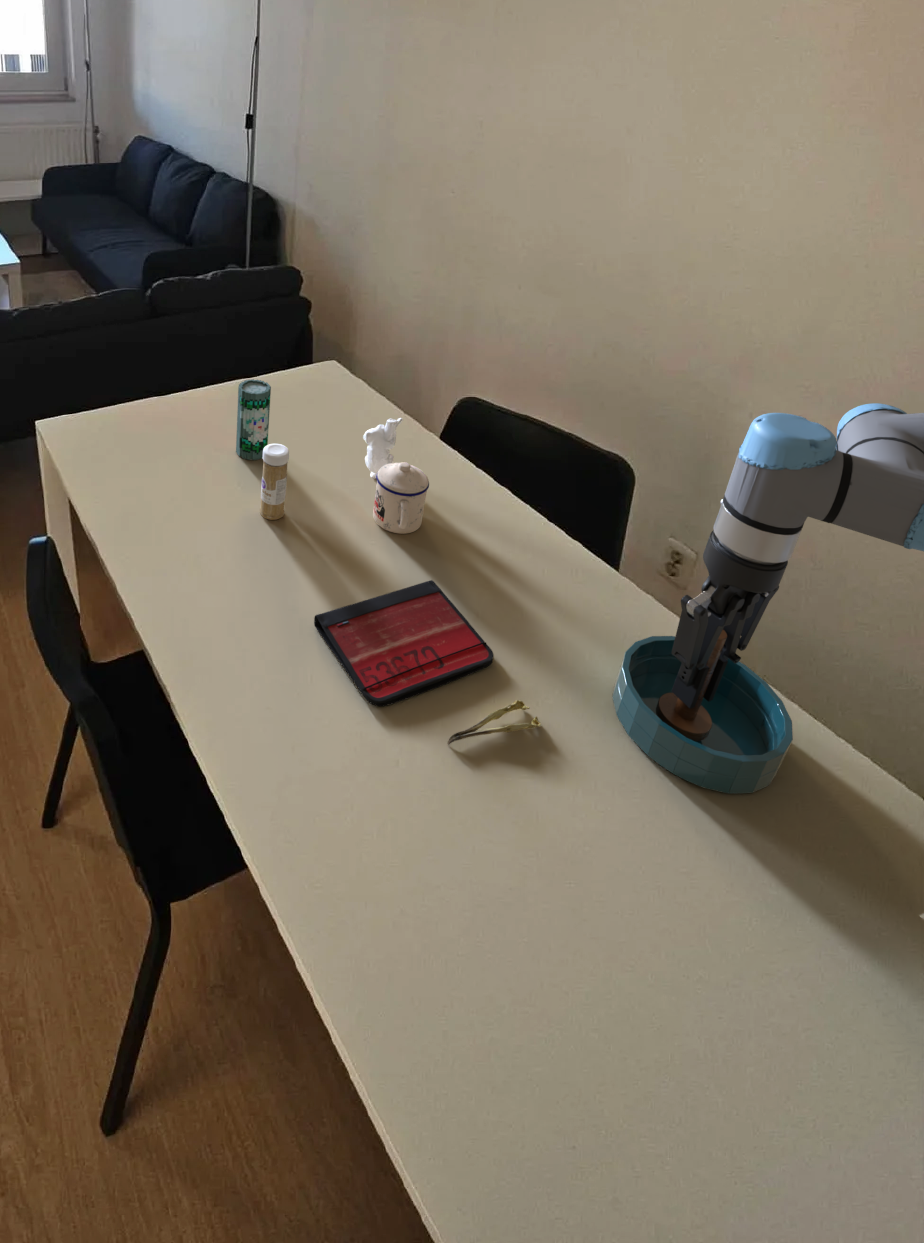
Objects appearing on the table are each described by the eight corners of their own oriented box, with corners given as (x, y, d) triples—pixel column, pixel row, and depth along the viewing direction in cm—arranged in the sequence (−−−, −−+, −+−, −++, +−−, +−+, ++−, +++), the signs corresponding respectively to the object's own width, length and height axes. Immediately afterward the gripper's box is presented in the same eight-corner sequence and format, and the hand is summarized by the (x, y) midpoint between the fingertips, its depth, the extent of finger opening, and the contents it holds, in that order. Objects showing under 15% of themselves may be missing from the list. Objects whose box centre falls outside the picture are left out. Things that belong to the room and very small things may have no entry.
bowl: (811, 767, 91) (829, 733, 89) (703, 818, 85) (718, 783, 82) (681, 653, 107) (692, 622, 105) (581, 689, 101) (591, 656, 98)
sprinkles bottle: (254, 511, 134) (257, 447, 128) (273, 502, 136) (277, 439, 131) (270, 524, 131) (274, 459, 125) (290, 515, 133) (294, 451, 128)
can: (243, 462, 148) (246, 395, 142) (232, 446, 153) (234, 381, 147) (271, 457, 150) (275, 391, 144) (259, 441, 155) (263, 377, 150)
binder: (314, 613, 108) (432, 577, 116) (312, 625, 109) (429, 588, 117) (373, 703, 95) (501, 656, 103) (371, 716, 96) (498, 668, 104)
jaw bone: (441, 736, 93) (444, 725, 92) (519, 706, 98) (523, 695, 98) (463, 765, 90) (466, 753, 89) (543, 732, 95) (546, 721, 94)
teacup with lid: (369, 501, 138) (376, 448, 133) (419, 506, 137) (428, 452, 132) (374, 544, 127) (381, 487, 122) (428, 549, 126) (437, 492, 121)
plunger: (720, 733, 93) (757, 643, 87) (685, 748, 91) (720, 657, 85) (678, 695, 98) (711, 607, 92) (644, 708, 96) (675, 619, 90)
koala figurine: (388, 461, 150) (395, 409, 146) (406, 479, 145) (414, 426, 140) (351, 468, 148) (357, 415, 143) (368, 487, 142) (374, 433, 137)
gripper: (765, 511, 89) (709, 656, 98) (670, 537, 84) (621, 688, 93) (829, 550, 83) (763, 702, 92) (731, 582, 77) (671, 739, 87)
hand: (692, 695), depth 93 cm, fingers closed on plunger, 2 cm apart
